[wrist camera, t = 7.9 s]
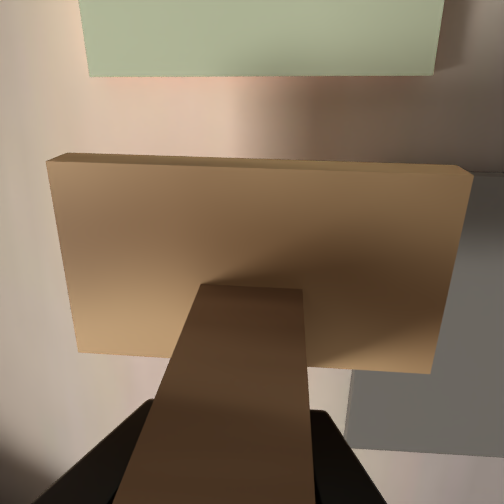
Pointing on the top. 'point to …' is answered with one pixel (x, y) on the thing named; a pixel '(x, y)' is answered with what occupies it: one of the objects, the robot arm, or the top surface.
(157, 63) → the tile
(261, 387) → the wooden stamp block
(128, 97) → the top surface
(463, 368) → the rest mat
